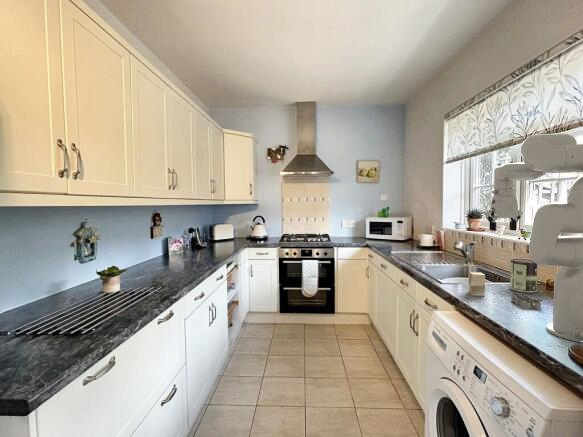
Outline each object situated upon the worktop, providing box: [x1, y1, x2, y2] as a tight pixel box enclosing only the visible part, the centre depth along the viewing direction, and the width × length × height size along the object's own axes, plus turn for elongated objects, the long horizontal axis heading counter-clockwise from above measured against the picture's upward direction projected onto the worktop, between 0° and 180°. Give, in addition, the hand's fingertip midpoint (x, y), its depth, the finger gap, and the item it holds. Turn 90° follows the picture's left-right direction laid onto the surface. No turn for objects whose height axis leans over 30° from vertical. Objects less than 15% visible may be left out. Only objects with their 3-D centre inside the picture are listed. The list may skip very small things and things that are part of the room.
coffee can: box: [509, 258, 538, 294], centre depth 138 cm, size 10×10×14 cm
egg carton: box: [510, 292, 543, 310], centre depth 119 cm, size 11×8×4 cm
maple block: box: [467, 271, 486, 298], centre depth 132 cm, size 5×5×10 cm
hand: (502, 230), depth 131 cm, fingers open, 9 cm apart
